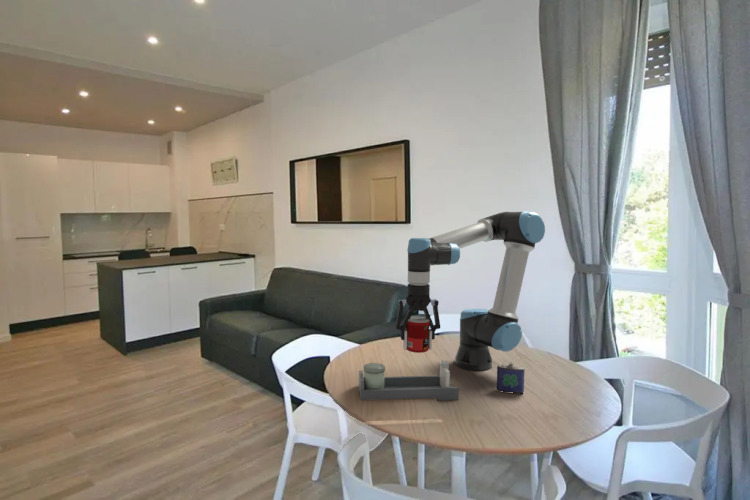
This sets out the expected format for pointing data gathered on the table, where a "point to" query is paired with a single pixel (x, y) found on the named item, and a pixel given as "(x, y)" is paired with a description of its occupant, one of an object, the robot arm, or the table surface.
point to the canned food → (418, 334)
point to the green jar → (374, 376)
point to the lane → (409, 388)
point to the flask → (510, 378)
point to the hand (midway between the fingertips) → (417, 348)
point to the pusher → (444, 374)
